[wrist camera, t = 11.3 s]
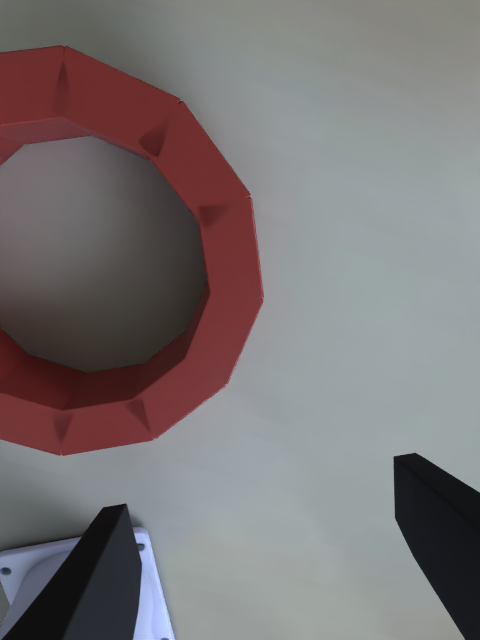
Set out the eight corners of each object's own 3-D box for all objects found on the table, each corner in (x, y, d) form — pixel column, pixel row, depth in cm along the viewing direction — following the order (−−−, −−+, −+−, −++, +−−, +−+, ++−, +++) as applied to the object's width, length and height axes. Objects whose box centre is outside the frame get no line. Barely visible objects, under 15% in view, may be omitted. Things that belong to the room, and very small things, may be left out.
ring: (265, 381, 20) (278, 419, 17) (-22, 429, 19) (-70, 479, 16) (224, 61, 16) (230, 23, 12) (-143, 107, 15) (-243, 81, 12)
